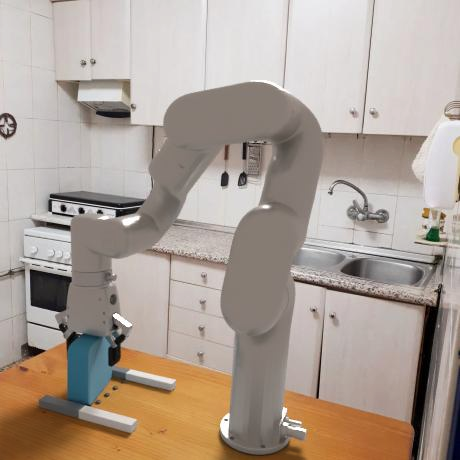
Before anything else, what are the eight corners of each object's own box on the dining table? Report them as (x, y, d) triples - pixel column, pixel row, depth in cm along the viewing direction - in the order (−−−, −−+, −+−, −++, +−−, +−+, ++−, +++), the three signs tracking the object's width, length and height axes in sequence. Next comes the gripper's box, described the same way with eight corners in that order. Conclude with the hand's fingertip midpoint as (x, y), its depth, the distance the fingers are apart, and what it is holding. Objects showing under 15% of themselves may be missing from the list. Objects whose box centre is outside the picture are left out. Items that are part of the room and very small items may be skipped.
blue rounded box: (92, 376, 100) (92, 323, 98) (112, 378, 100) (113, 325, 98) (66, 405, 88) (66, 346, 86) (89, 408, 88) (89, 349, 86)
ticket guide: (175, 386, 98) (176, 379, 98) (131, 433, 81) (131, 425, 81) (95, 367, 104) (95, 361, 104) (38, 407, 87) (38, 399, 87)
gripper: (140, 277, 91) (140, 359, 93) (67, 268, 96) (69, 345, 99) (119, 287, 84) (120, 375, 86) (42, 276, 89) (45, 359, 92)
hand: (93, 359), depth 93 cm, fingers open, 9 cm apart
